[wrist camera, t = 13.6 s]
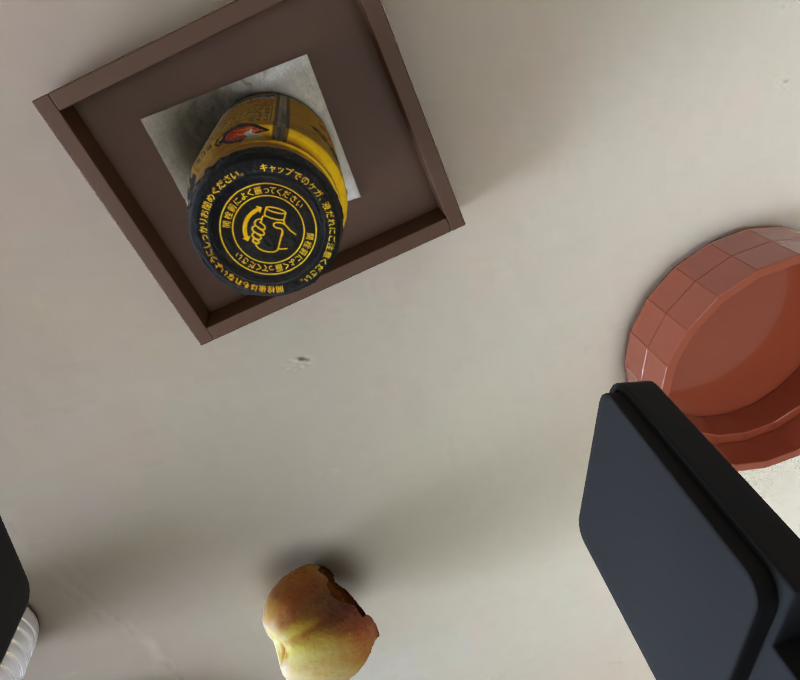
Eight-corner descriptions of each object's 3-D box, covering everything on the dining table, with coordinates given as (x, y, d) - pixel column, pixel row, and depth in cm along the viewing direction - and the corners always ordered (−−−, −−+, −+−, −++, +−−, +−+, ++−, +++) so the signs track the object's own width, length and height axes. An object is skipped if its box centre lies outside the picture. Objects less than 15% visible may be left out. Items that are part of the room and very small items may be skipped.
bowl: (643, 232, 37) (690, 262, 33) (869, 217, 39) (942, 243, 35) (606, 436, 44) (641, 483, 40) (799, 415, 46) (852, 457, 42)
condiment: (360, 195, 33) (392, 283, 23) (212, 252, 33) (177, 364, 23) (306, 53, 29) (315, 78, 19) (141, 117, 30) (60, 178, 19)
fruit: (289, 528, 44) (288, 626, 37) (390, 558, 47) (407, 654, 40) (245, 598, 46) (236, 702, 39) (343, 622, 49) (351, 723, 42)
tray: (352, -55, 28) (357, -60, 26) (454, 211, 35) (465, 224, 33) (50, 94, 29) (31, 101, 27) (206, 325, 36) (200, 346, 33)
